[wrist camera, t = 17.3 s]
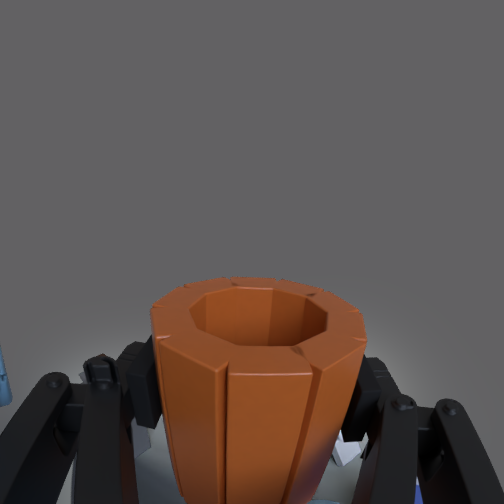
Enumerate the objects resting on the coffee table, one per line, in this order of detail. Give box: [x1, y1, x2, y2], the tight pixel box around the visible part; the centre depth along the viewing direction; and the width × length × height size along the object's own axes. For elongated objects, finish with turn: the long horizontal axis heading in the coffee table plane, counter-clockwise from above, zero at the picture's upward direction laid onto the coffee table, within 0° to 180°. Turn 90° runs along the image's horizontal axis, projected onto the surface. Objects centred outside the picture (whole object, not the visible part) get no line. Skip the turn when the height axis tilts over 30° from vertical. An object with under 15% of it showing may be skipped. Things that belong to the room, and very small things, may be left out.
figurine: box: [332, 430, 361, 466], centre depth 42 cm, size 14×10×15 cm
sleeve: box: [150, 277, 367, 504], centre depth 11 cm, size 7×7×9 cm
